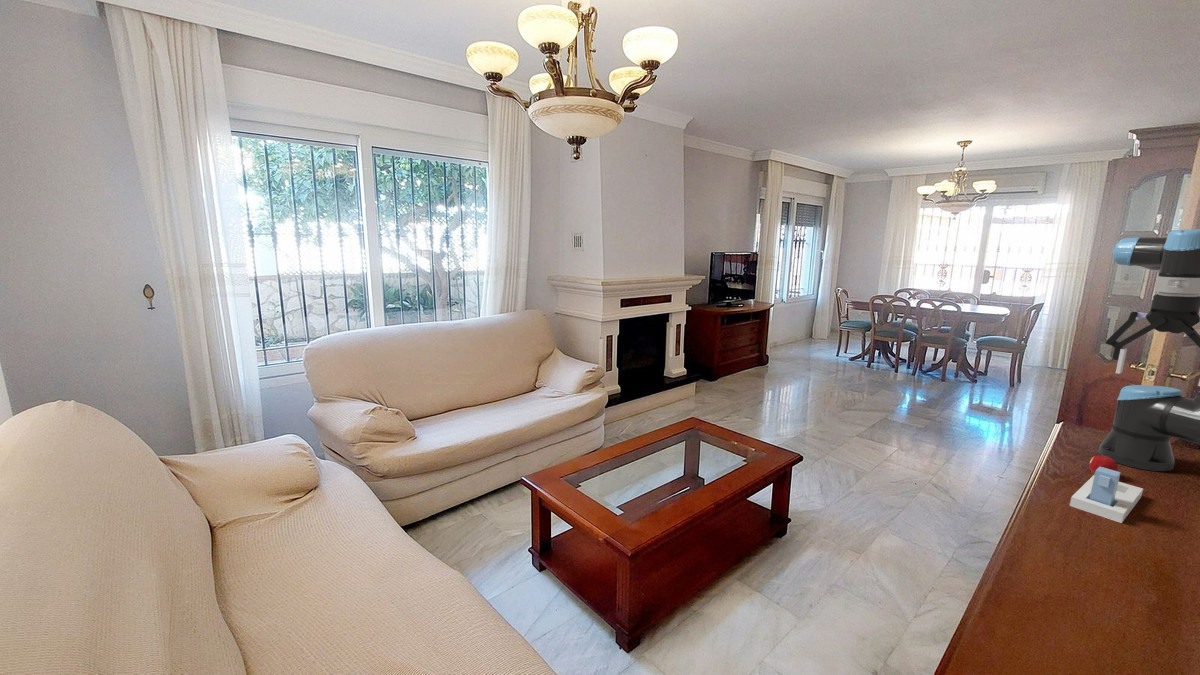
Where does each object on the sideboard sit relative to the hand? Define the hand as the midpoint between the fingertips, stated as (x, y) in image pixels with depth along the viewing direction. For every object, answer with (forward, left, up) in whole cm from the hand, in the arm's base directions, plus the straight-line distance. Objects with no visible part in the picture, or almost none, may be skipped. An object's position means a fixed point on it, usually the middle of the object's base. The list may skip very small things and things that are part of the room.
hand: (1158, 378), depth 118 cm
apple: (-6, -7, -32) cm, 33 cm away
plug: (+18, -2, -31) cm, 36 cm away
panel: (+12, -2, -32) cm, 34 cm away
